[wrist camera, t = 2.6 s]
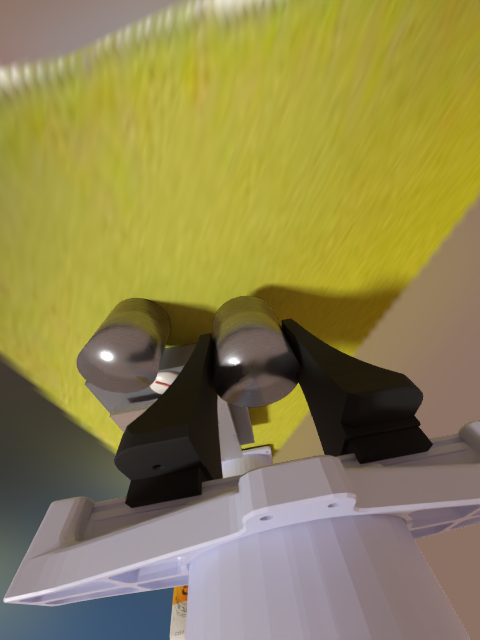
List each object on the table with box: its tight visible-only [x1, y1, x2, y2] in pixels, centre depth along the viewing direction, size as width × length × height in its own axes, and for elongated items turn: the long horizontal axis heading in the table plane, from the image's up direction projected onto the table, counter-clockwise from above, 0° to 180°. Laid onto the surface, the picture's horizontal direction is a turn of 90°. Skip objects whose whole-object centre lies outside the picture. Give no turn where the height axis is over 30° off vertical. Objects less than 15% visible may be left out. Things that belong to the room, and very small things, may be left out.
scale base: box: [85, 343, 255, 445], centre depth 21 cm, size 14×12×3 cm
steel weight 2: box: [213, 296, 301, 407], centre depth 12 cm, size 4×4×5 cm
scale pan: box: [110, 396, 243, 461], centre depth 20 cm, size 11×9×1 cm
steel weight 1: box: [77, 298, 171, 393], centre depth 15 cm, size 4×4×5 cm
